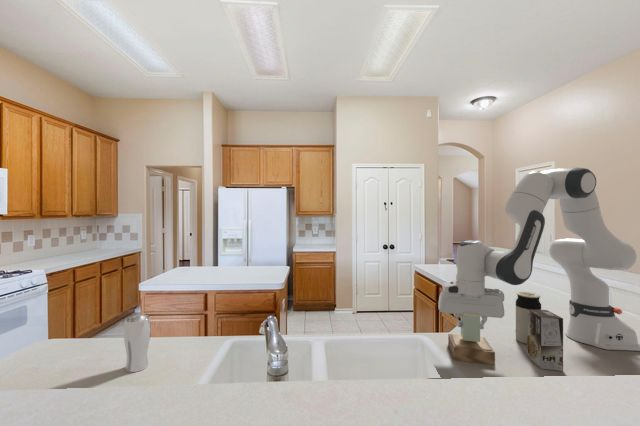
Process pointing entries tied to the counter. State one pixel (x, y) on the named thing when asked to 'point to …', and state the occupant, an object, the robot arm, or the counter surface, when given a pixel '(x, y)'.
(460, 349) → the square wooden tray
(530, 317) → the coffee box
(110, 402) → the counter surface
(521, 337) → the travel mug
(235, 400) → the counter surface
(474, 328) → the tea tin
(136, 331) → the beer glass
